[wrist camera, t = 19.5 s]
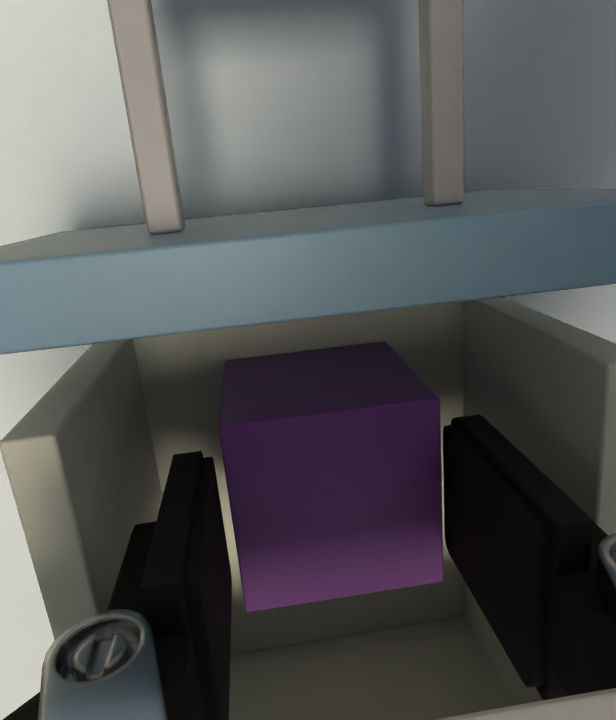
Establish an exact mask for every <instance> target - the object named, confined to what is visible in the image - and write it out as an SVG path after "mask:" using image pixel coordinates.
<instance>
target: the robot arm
mask: <svg viewBox="0 0 616 720" xmlns="http://www.w3.org/2000/svg"><path fill="white" fill-rule="evenodd" d="M443 475H444V535H445V543H446V547H447V550H448V552H449V555H450V556H451V558H452V560H453V562H454V563H455V565H456V567H457V569H458V570H459V572H460V574H461V576H462V577H463V579H464V581H465V582H466V584H467V586H468V588H469V589H470V591H471V593H472V595H473V596H474V598H475V600H476V602H477V603H478V605H479V607H480V609H481V610H482V612H483V614H484V616H485V617H486V619H487V621H488V623H489V624H490V626H491V628H492V630H493V631H494V633H495V635H496V637H497V638H498V640H499V642H500V644H501V645H502V647H503V649H504V651H505V652H506V654H507V656H508V658H509V659H510V661H511V663H512V665H513V666H514V668H515V670H516V671H517V673H518V675H519V677H520V678H521V680H522V682H523V683H524V685H525V686H526V687H529V688H530V687H535V688H536V689H537V691H538V693H539V694H540V696H541V698H542V700H543V701H537V702H532V703H526V704H520V705H515V706H509V707H503V708H498V709H492V710H486V711H480V712H475V713H469V714H463V715H458V716H452V717H447V718H441V719H435V720H616V533H614V534H611V535H607V534H606V533H605V532H604V531H603V530H602V529H601V528H600V527H599V526H598V525H597V524H596V523H595V522H594V521H593V519H592V518H591V517H590V516H589V515H587V514H586V513H585V512H584V511H583V510H582V509H581V508H580V507H579V506H578V505H577V504H576V503H575V502H574V501H573V500H571V499H570V498H569V497H568V496H567V495H566V494H565V493H564V492H563V491H562V490H561V489H560V488H559V487H558V486H557V485H555V484H554V483H553V482H552V481H551V480H550V479H549V478H548V477H547V476H546V475H545V474H544V473H543V472H542V471H541V470H539V469H538V468H537V467H536V466H535V465H534V464H533V463H532V462H531V461H530V460H529V459H528V458H527V457H526V456H525V455H523V454H522V453H521V452H520V451H519V450H518V449H517V448H516V447H515V446H514V445H513V444H512V443H511V442H510V441H509V440H507V439H506V438H505V437H504V436H503V435H502V434H501V433H500V432H499V431H498V430H497V429H496V428H495V427H494V426H492V425H491V424H490V423H489V422H488V421H487V420H486V419H485V418H484V417H483V416H482V415H480V414H478V415H470V416H463V417H455V418H453V419H452V420H451V424H450V425H447V426H444V428H443ZM231 607H232V577H231V568H230V561H229V555H228V548H227V542H226V535H225V529H224V523H223V516H222V510H221V503H220V497H219V491H218V484H217V478H216V471H215V465H214V460H213V457H205V458H203V454H202V451H196V452H189V453H181V454H174V455H173V458H172V462H171V466H170V470H169V474H168V478H167V482H166V485H165V489H164V493H163V497H162V501H161V505H160V509H159V513H158V517H157V521H155V522H148V523H141V524H137V525H135V526H134V528H133V530H132V534H131V537H130V540H129V543H128V546H127V549H126V553H125V556H124V559H123V562H122V565H121V568H120V571H119V575H118V578H117V581H116V584H115V587H114V590H113V593H112V597H111V600H110V603H109V606H108V609H107V611H103V612H99V613H96V614H93V615H91V616H89V617H86V618H84V619H82V620H80V621H79V622H77V623H75V624H74V625H72V626H71V627H69V628H68V629H66V630H65V631H64V632H63V633H62V634H61V635H60V636H59V637H58V638H57V639H56V640H55V641H54V643H53V644H52V646H51V647H50V648H49V650H48V651H47V653H46V656H45V659H44V663H43V667H42V678H41V689H40V692H39V693H38V694H36V695H35V696H34V697H32V698H31V699H30V700H28V701H27V702H26V703H24V704H23V705H22V706H20V707H19V708H18V709H16V710H15V711H14V712H12V713H11V714H10V715H8V716H7V717H6V718H4V719H3V720H229V693H230V650H231Z"/></svg>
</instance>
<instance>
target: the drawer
mask: <svg viewBox="0 0 616 720" xmlns="http://www.w3.org/2000/svg"><path fill="white" fill-rule="evenodd" d="M107 1H108V7H109V13H110V19H111V25H112V30H113V36H114V42H115V48H116V53H117V59H118V65H119V71H120V76H121V82H122V88H123V94H124V100H125V105H126V111H127V117H128V123H129V128H130V134H131V140H132V146H133V152H134V157H135V163H136V169H137V175H138V180H139V186H140V192H141V198H142V203H143V209H144V215H145V221H146V223H145V224H135V225H125V226H115V227H104V228H94V229H84V230H74V231H64V232H58V233H54V234H50V235H46V236H41V237H37V238H33V239H29V240H25V241H20V242H16V243H12V244H8V245H4V246H0V354H9V353H18V352H26V351H35V350H44V349H52V348H61V347H70V346H78V345H87V344H93V345H92V346H91V347H90V348H89V349H88V350H87V351H86V352H85V353H84V354H83V355H82V356H81V357H80V358H79V359H78V360H77V361H76V362H75V363H74V365H73V366H72V367H71V368H70V369H69V370H68V371H67V372H66V373H65V374H64V375H63V376H62V377H61V378H60V379H59V380H58V381H57V382H56V383H55V385H54V386H53V387H52V388H51V389H50V390H49V391H48V392H47V393H46V394H45V395H44V396H43V397H42V398H41V399H40V400H39V401H38V402H37V403H36V405H35V406H34V407H33V408H32V409H31V410H30V411H29V412H28V413H27V414H26V415H25V416H24V417H23V418H22V419H21V420H20V421H19V422H18V423H17V425H16V426H15V427H14V428H13V429H12V430H11V431H10V432H9V433H8V434H7V435H6V436H5V437H4V438H3V439H2V440H1V441H0V449H1V452H2V456H3V459H4V463H5V466H6V470H7V473H8V477H9V480H10V484H11V487H12V491H13V495H14V498H15V502H16V505H17V509H18V512H19V516H20V519H21V523H22V526H23V530H24V533H25V537H26V540H27V544H28V547H29V551H30V554H31V558H32V561H33V565H34V568H35V572H36V575H37V579H38V582H39V586H40V589H41V593H42V596H43V600H44V604H45V607H46V611H47V614H48V618H49V621H50V625H51V628H52V632H53V635H54V639H55V640H56V639H57V638H58V637H59V636H60V635H61V634H62V633H63V632H64V631H65V630H66V629H68V628H69V627H71V626H72V625H74V624H75V623H77V622H79V621H80V620H82V619H84V618H86V617H89V616H91V615H93V614H96V613H99V612H103V611H107V609H108V606H109V603H110V600H111V597H112V593H113V590H114V587H115V584H116V581H117V578H118V575H119V571H120V568H121V565H122V562H123V559H124V556H125V553H126V549H127V546H128V543H129V540H130V537H131V534H132V530H133V528H134V526H135V525H137V524H141V523H148V522H155V521H157V517H158V513H159V509H160V505H161V501H162V497H163V493H164V489H165V485H166V482H167V478H168V474H169V470H170V466H171V462H172V458H173V455H174V454H181V453H189V452H196V451H202V454H203V458H205V457H213V460H214V465H215V471H216V478H217V484H218V491H219V497H220V503H221V510H222V516H223V523H224V529H225V535H226V542H227V548H228V555H229V561H230V568H231V577H232V607H231V650H230V693H229V720H435V719H441V718H447V717H452V716H458V715H463V714H469V713H475V712H480V711H486V710H492V709H498V708H503V707H509V706H515V705H520V704H526V703H532V702H537V701H543V700H542V698H541V696H540V694H539V693H538V691H537V689H536V688H535V687H530V688H529V687H526V686H525V685H524V683H523V682H522V680H521V678H520V677H519V675H518V673H517V671H516V670H515V668H514V666H513V665H512V663H511V661H510V659H509V658H508V656H507V654H506V652H505V651H504V649H503V647H502V645H501V644H500V642H499V640H498V638H497V637H496V635H495V633H494V631H493V630H492V628H491V626H490V624H489V623H488V621H487V619H486V617H485V616H484V614H483V612H482V610H481V609H480V607H479V605H478V603H477V602H476V600H475V598H474V596H473V595H472V593H471V591H470V589H469V588H468V586H467V584H466V582H465V581H464V579H463V577H462V576H461V574H460V572H459V570H458V569H457V567H456V565H455V563H454V562H453V560H452V558H451V556H450V555H449V552H448V550H447V547H446V543H445V535H444V475H443V428H444V426H447V425H450V424H451V420H452V419H453V418H455V417H463V416H470V415H478V414H480V415H482V416H483V417H484V418H485V419H486V420H487V421H488V422H489V423H490V424H491V425H492V426H494V427H495V428H496V429H497V430H498V431H499V432H500V433H501V434H502V435H503V436H504V437H505V438H506V439H507V440H509V441H510V442H511V443H512V444H513V445H514V446H515V447H516V448H517V449H518V450H519V451H520V452H521V453H522V454H523V455H525V456H526V457H527V458H528V459H529V460H530V461H531V462H532V463H533V464H534V465H535V466H536V467H537V468H538V469H539V470H541V471H542V472H543V473H544V474H545V475H546V476H547V477H548V478H549V479H550V480H551V481H552V482H553V483H554V484H555V485H557V486H558V487H559V488H560V489H561V490H562V491H563V492H564V493H565V494H566V495H567V496H568V497H569V498H570V499H571V500H573V501H574V502H575V503H576V504H577V505H578V506H579V507H580V508H581V509H582V510H583V511H584V512H585V513H586V514H587V515H589V516H590V517H591V518H592V519H593V521H594V522H595V523H596V524H597V525H598V526H599V527H600V528H601V529H602V530H603V531H604V532H605V533H606V534H607V535H611V534H614V533H616V344H615V343H613V342H610V341H608V340H606V339H603V338H601V337H598V336H596V335H593V334H591V333H589V332H586V331H584V330H581V329H579V328H576V327H574V326H572V325H569V324H567V323H564V322H562V321H559V320H557V319H555V318H552V317H550V316H547V315H545V314H542V313H540V312H537V311H535V310H533V309H530V308H528V307H525V306H523V305H520V304H518V303H516V302H513V301H511V300H508V299H506V298H503V297H505V296H514V295H522V294H531V293H540V292H548V291H557V290H566V289H575V288H583V287H592V286H601V285H609V284H616V189H493V190H483V191H472V192H464V94H463V0H418V4H419V43H420V82H421V121H422V160H423V196H421V197H411V198H401V199H391V200H380V201H370V202H360V203H350V204H339V205H329V206H319V207H309V208H299V209H288V210H278V211H268V212H258V213H247V214H237V215H227V216H217V217H207V218H196V219H186V220H184V215H183V208H182V202H181V195H180V188H179V182H178V175H177V169H176V162H175V156H174V149H173V143H172V136H171V130H170V123H169V116H168V110H167V103H166V97H165V90H164V84H163V77H162V71H161V64H160V57H159V51H158V44H157V38H156V31H155V25H154V18H153V12H152V5H151V0H107ZM383 341H385V342H386V343H387V344H388V345H389V346H390V347H391V348H392V349H393V350H394V351H395V352H396V353H397V354H398V355H399V356H400V357H401V358H402V359H403V361H404V362H405V363H406V364H407V365H408V366H409V367H410V368H411V369H412V370H413V371H414V372H415V373H416V374H417V375H418V376H419V377H420V378H421V379H422V380H423V381H424V383H425V384H426V385H427V386H428V387H429V388H430V389H431V390H432V391H433V392H434V393H435V394H436V395H437V396H438V397H439V398H440V421H441V475H442V529H443V581H442V582H437V583H431V584H424V585H418V586H412V587H405V588H399V589H393V590H386V591H380V592H374V593H367V594H361V595H355V596H348V597H342V598H336V599H329V600H323V601H317V602H310V603H304V604H298V605H291V606H285V607H279V608H272V609H266V610H260V611H254V612H247V611H246V609H245V602H244V596H243V589H242V582H241V576H240V569H239V562H238V556H237V549H236V543H235V536H234V529H233V523H232V516H231V509H230V503H229V496H228V490H227V483H226V476H225V470H224V463H223V456H222V450H221V443H220V437H219V430H218V426H219V415H220V404H221V393H222V382H223V371H224V362H225V361H226V360H232V359H241V358H249V357H258V356H266V355H274V354H283V353H291V352H299V351H308V350H316V349H325V348H333V347H341V346H350V345H358V344H366V343H375V342H383Z"/></svg>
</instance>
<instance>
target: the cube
mask: <svg viewBox="0 0 616 720" xmlns="http://www.w3.org/2000/svg"><path fill="white" fill-rule="evenodd" d="M218 430H219V437H220V443H221V450H222V456H223V463H224V470H225V476H226V483H227V490H228V496H229V503H230V509H231V516H232V523H233V529H234V536H235V543H236V549H237V556H238V562H239V569H240V576H241V582H242V589H243V596H244V602H245V609H246V611H247V612H254V611H260V610H266V609H272V608H279V607H285V606H291V605H298V604H304V603H310V602H317V601H323V600H329V599H336V598H342V597H348V596H355V595H361V594H367V593H374V592H380V591H386V590H393V589H399V588H405V587H412V586H418V585H424V584H431V583H437V582H442V581H443V529H442V475H441V421H440V398H439V397H438V396H437V395H436V394H435V393H434V392H433V391H432V390H431V389H430V388H429V387H428V386H427V385H426V384H425V383H424V381H423V380H422V379H421V378H420V377H419V376H418V375H417V374H416V373H415V372H414V371H413V370H412V369H411V368H410V367H409V366H408V365H407V364H406V363H405V362H404V361H403V359H402V358H401V357H400V356H399V355H398V354H397V353H396V352H395V351H394V350H393V349H392V348H391V347H390V346H389V345H388V344H387V343H386V342H385V341H383V342H375V343H366V344H358V345H350V346H341V347H333V348H325V349H316V350H308V351H299V352H291V353H283V354H274V355H266V356H258V357H249V358H241V359H232V360H226V361H225V362H224V371H223V382H222V393H221V404H220V415H219V426H218Z"/></svg>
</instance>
